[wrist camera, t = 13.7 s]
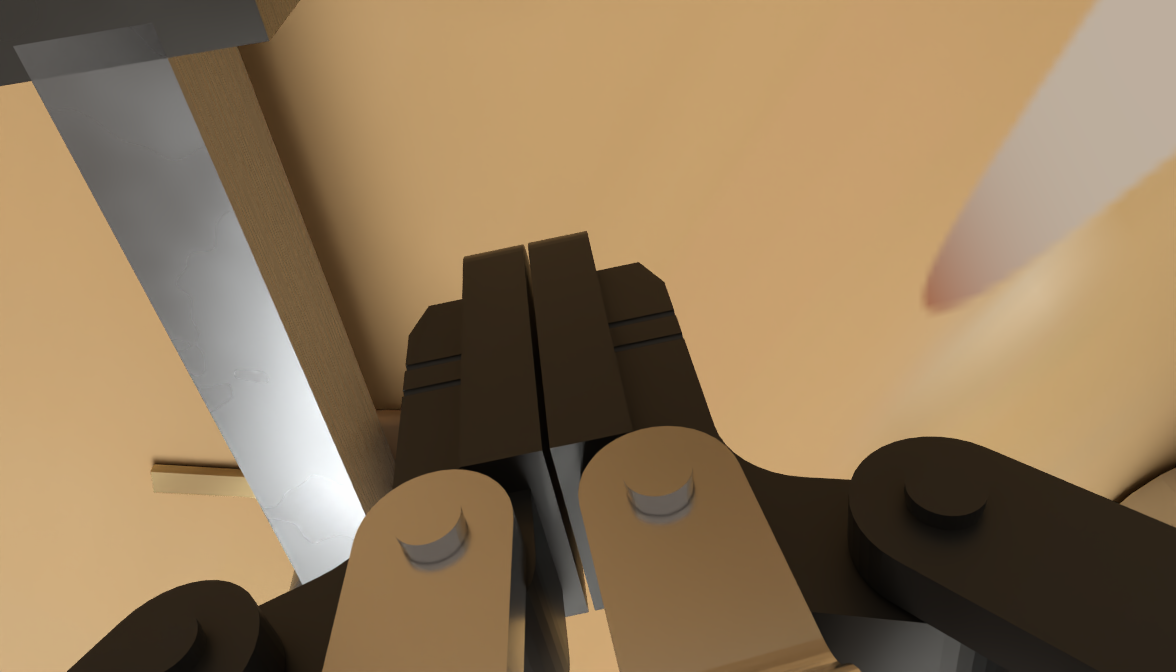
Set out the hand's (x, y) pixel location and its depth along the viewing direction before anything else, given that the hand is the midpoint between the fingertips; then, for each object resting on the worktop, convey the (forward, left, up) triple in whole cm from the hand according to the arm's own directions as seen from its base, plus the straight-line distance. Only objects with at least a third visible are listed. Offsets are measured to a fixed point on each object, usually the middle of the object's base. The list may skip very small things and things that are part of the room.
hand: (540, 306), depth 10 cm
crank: (+4, +6, -8) cm, 11 cm away
